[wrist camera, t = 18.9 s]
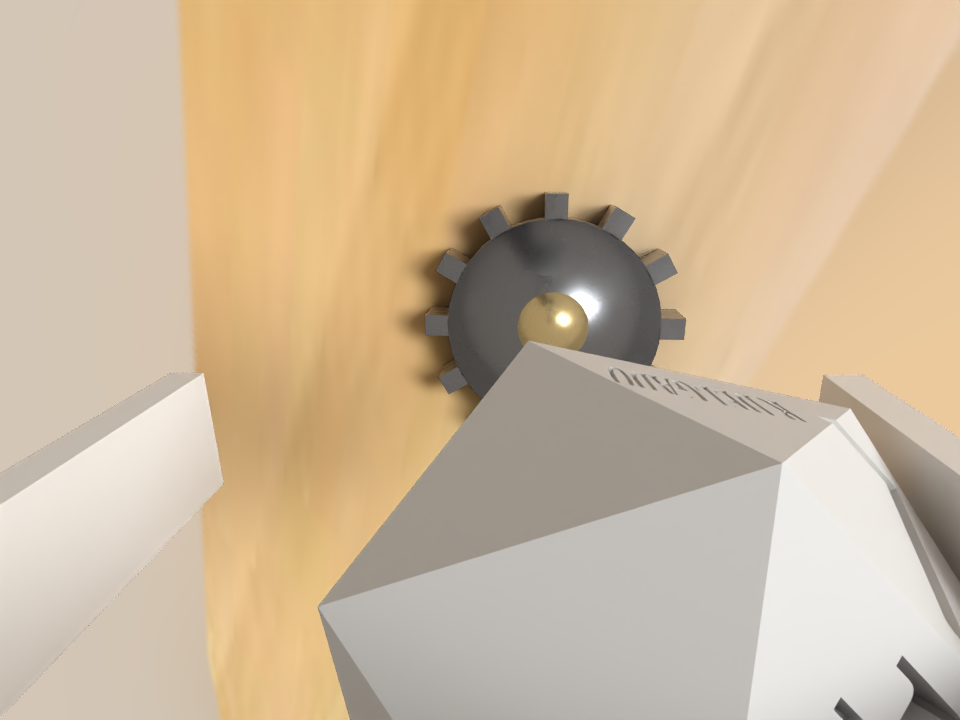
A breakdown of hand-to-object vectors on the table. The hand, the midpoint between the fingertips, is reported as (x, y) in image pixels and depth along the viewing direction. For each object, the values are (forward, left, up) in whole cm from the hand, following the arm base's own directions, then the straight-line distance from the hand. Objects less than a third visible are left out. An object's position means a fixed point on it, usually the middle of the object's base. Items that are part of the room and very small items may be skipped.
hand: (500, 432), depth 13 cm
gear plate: (+3, +2, -24) cm, 24 cm away
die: (+1, +3, -1) cm, 3 cm away
